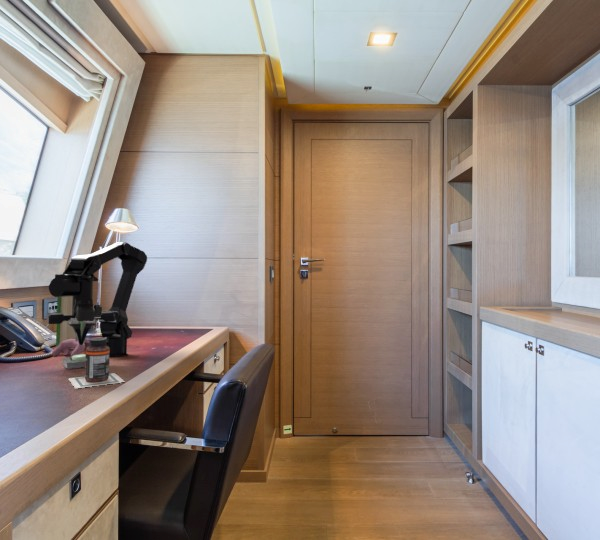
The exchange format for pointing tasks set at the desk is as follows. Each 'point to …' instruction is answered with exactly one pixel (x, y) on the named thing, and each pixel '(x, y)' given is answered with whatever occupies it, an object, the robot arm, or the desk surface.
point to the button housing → (72, 363)
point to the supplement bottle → (97, 360)
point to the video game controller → (69, 348)
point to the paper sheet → (82, 383)
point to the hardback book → (64, 329)
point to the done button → (79, 357)
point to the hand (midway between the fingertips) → (80, 344)
